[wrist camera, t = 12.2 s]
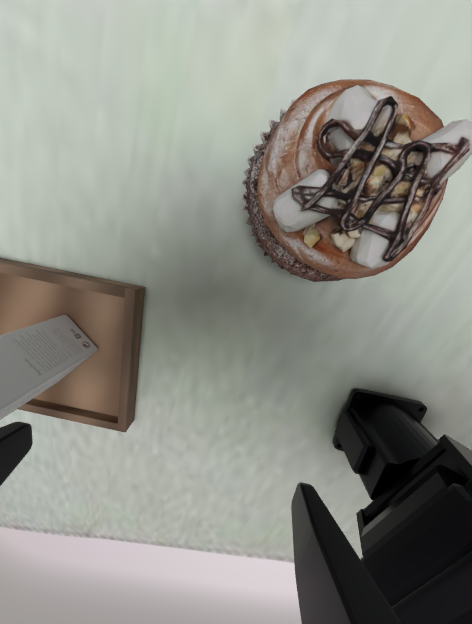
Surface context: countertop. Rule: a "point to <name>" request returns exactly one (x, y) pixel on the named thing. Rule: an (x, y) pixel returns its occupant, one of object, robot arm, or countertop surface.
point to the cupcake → (350, 179)
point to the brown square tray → (94, 324)
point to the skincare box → (39, 359)
